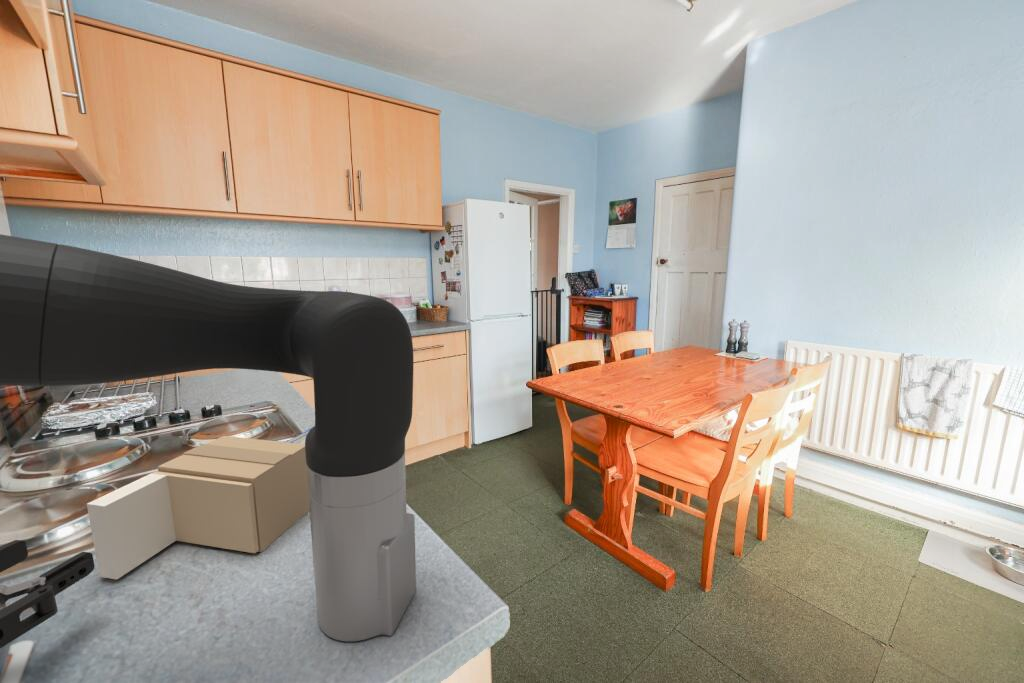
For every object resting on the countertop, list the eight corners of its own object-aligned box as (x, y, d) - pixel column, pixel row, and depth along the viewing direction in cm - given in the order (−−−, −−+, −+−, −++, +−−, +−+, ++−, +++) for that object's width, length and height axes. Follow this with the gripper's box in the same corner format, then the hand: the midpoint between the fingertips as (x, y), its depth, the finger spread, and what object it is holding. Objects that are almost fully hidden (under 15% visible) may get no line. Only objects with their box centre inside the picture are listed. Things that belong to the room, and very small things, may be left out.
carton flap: (258, 550, 53) (252, 483, 51) (204, 596, 46) (195, 520, 44) (164, 535, 56) (155, 471, 54) (99, 576, 48) (86, 503, 47)
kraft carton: (312, 508, 63) (307, 443, 61) (260, 552, 53) (253, 477, 52) (230, 496, 66) (223, 434, 64) (167, 537, 56) (157, 464, 54)
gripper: (-190, 693, 25) (108, 529, 41) (-340, 650, 28) (-5, 511, 44) (-156, 791, 27) (120, 596, 43) (-302, 742, 29) (9, 575, 45)
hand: (56, 553), depth 43 cm, fingers open, 8 cm apart
